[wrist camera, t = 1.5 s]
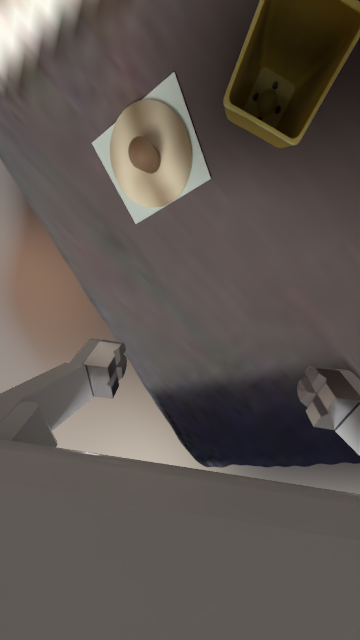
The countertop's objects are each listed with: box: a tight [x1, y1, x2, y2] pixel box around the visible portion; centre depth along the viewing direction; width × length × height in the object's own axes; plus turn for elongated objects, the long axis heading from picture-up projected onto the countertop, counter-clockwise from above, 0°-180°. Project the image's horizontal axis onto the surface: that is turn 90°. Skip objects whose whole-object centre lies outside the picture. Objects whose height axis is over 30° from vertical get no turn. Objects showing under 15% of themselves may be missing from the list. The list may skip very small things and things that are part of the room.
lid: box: [110, 99, 192, 208], centre depth 26 cm, size 12×12×6 cm
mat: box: [92, 72, 211, 224], centre depth 29 cm, size 14×12×1 cm
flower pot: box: [223, 0, 360, 148], centre depth 21 cm, size 9×9×9 cm
